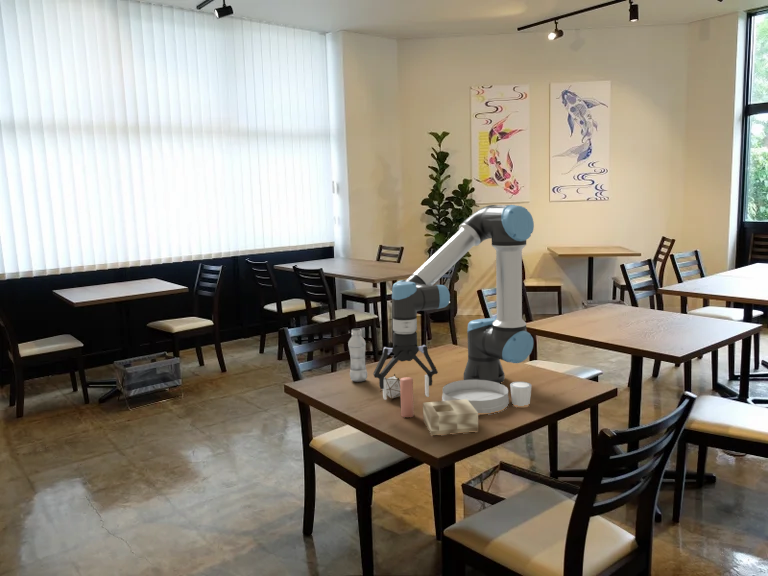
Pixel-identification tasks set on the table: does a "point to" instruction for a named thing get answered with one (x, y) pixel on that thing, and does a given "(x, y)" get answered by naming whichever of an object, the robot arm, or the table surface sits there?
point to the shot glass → (520, 393)
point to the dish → (478, 394)
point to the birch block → (450, 416)
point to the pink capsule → (406, 397)
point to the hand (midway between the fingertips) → (405, 397)
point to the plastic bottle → (357, 356)
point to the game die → (392, 387)
